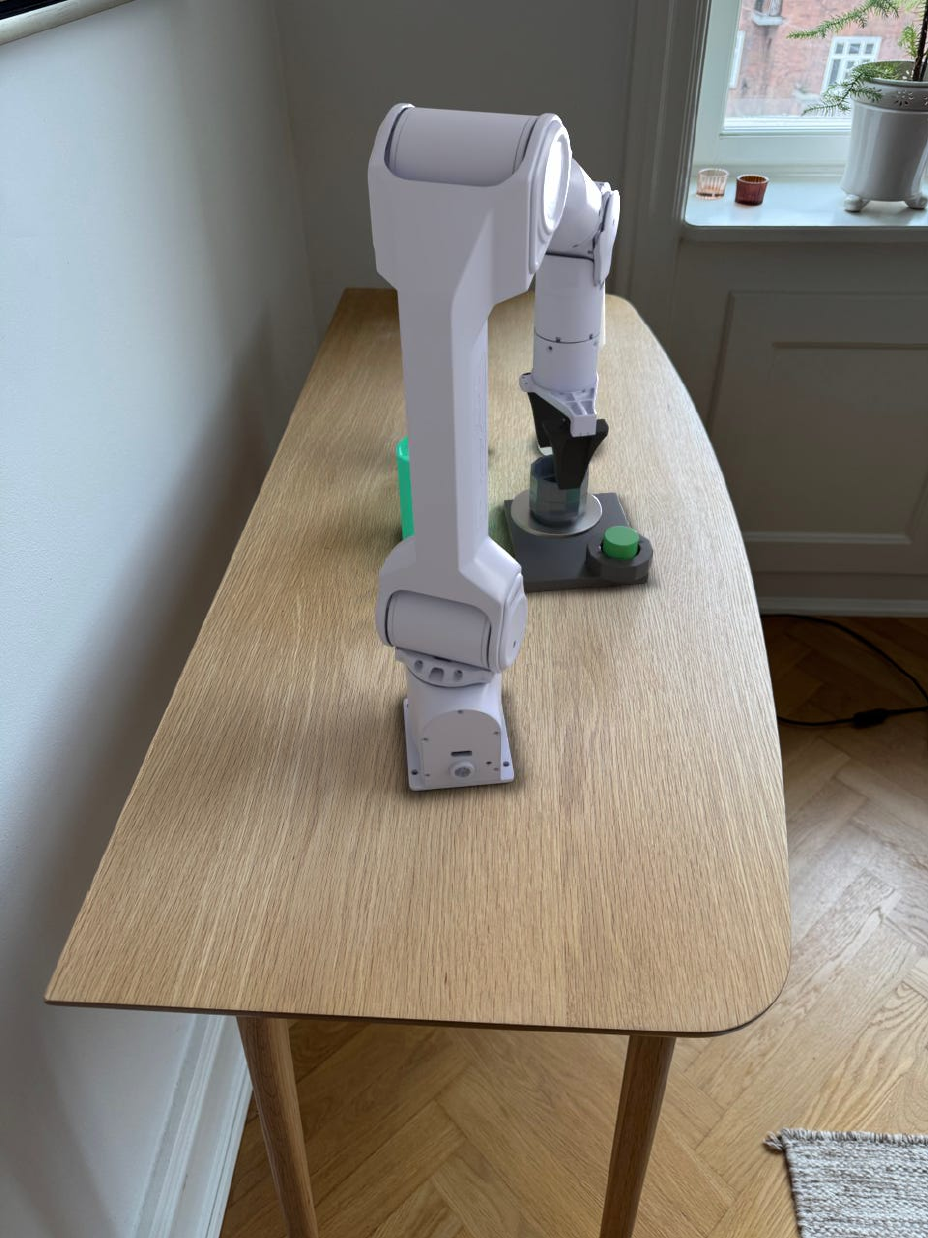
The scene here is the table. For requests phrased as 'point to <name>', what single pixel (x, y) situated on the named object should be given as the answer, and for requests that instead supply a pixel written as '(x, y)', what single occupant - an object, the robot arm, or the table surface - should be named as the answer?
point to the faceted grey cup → (554, 493)
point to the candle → (405, 488)
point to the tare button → (620, 542)
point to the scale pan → (555, 529)
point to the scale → (578, 554)
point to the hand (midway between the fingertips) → (558, 465)
